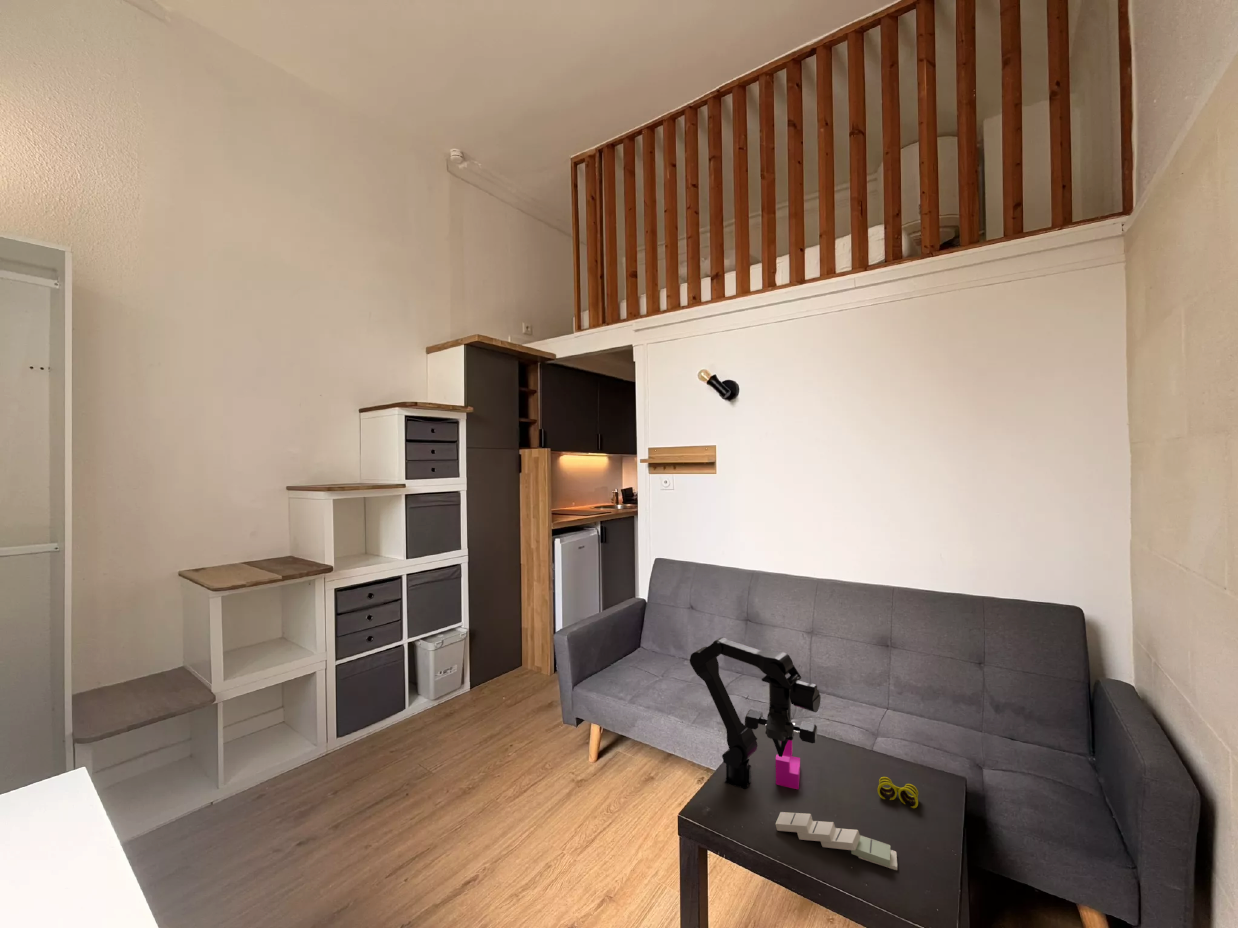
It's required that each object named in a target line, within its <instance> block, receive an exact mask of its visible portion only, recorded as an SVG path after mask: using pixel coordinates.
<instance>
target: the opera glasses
mask: <svg viewBox="0 0 1238 928" xmlns="http://www.w3.org/2000/svg"><path fill="white" fill-rule="evenodd" d="M884 786H890V787H884ZM876 791H877V794H878V796H879V797H880V798H881V799H883V800H886V798H885V796H887V797H889V801H893V800H895V799H896V798H897V796H898V798H899V800H900V802H901V803H902V804H904V805H906V803H907V802H910V804H911V806H909V807H910V808H912V809H917V807H918V805H919V790H918V789H917V787H916V786H915V785H913V784H911V783H905V785H904V786H903V787H899V786H896V785H895V784H894V783H893V782H892V779H890V778H889V777H887V776H882V777H880V778H879V780H878V786H877V790H876ZM910 794H911V795H910Z"/></svg>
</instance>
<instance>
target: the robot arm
mask: <svg viewBox="0 0 1238 928" xmlns="http://www.w3.org/2000/svg"><path fill="white" fill-rule="evenodd" d="M721 655H722V656H724V657H728V658H731V659H734V660H737V661H739V662H742V663H745V664H748V665H751V666H753V667H756V668H757V669H759V670H760V671H761V672H762V673H763V674H764V675H765V676H763V677H762V678H761V682H764V683H767V684H768V686H769V688H768V689H769V690H768V692H769V693H768V694H769V697H768V700H769V701H768V703H769V704H768V705H769V706H768V714H767V716H766V717H765V716H764V714H763V711H761V710H760V711H759V710H755V709H749V710H748V711H747V713H746V715H745V717H744V723H743V722H742V721H741V719H740V716H739V715H738V712H737V711H736V708H735V706H734V703H733V702H732V700H731V698H730V695H729V693H728V691H727V689H726V686H725V684H724V682H723V680H722V679H721V676H720V669H719V668H720V666H719V661H718V657H719V656H721ZM689 663H690V664H689V665H690V666H691V667H692V669H693V671H694V673H695V675H696V676H697V677H699V678H701V680H703V682H704V683H705V685H706V688H707V690H708V692H709V694H710V696H711V698H712V701H713V703H714V705H715V708H716V711H717V713H718V714H719V717H720V719H721V721H722V723H723V725H724V727H725V729H726V743H727V746H728V749H727V750H726V751H725V752H724V753H722V755H721V757H722V761H723V763H724V764H725V778H724V783H725V784H728V785H731V786H734V787H738V788H740V789H744V790H745V789H747V788H748V785H750V783H751V782H752V765H751V764H750V757H752V755H754V754H755V753H756V751H757V750H758V746H759V745H758V741H757V740H758V737H757V736H756V735H755V733H754V730H757V729H758V728H759V725H762V726H765V729H766V730H765V734H766V737H767V738H769V739H771V740H772V743H773V744H774V747H775V749H776V752H777V755H779V756H780V757H782V755H783V752H784V749H785V746H786V744H787V742H788V741H789V740H791V741H792V742H793V740H794V737H795V735H796V734H799V735H798V736H799V738H800V740H801V741H802V742H804V743H805V742H806V743H810V744H815V743H816V741H817V738H818V737H817V736H818V726H817V725H816V723H813V722H809V721H805V720H801V723H800V725H799V724H796V723H795V722H792V705H793V706H794V707H798V708H800V709H804V710H807V711H810V712H813V713H818V711H819V709H820V707H821V706H820V705H821V694H820V690H819V689H818V685H817V684H815V683H808V682H805V681H801V679H802V676H801V674H800V673H799V671H798V670H797V668H796V667H795V665H794V662H793V660H792V658H791V657H790V655H789V654H788V653H787V652H785V651H784V652H783V651H777V650H760V649H758V648H755V647H751V646H747V645H746V644H743V643H739V642H737V641H736V642H735V641H732V640H730V639H728V638H726V637H719V638H718V639H716V640H714V641H713V642H712V643H711V644H710V645H708V646H703V647H701V648H699V649H698V650H696V651H694V652H692V653H691V654H690V657H689ZM788 674H789V675H790V676H788V677H786V676H787V675H788Z"/></svg>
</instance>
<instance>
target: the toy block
mask: <svg viewBox="0 0 1238 928" xmlns="http://www.w3.org/2000/svg"><path fill="white" fill-rule="evenodd" d="M775 755H776V756H775V785H778V786H781V787H785V788H790V789H794V790H795V789H796V790H799V788H800V777H801V757H797V756H793V740H792V741H791V740H789V741H788V742H787V744H786V746H785V749H784V752H783V755H782V757H780V756H779V755H778V753H777V754H775Z"/></svg>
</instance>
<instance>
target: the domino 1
mask: <svg viewBox="0 0 1238 928" xmlns="http://www.w3.org/2000/svg"><path fill="white" fill-rule="evenodd" d="M813 821H814V820H813V817H812V813H805V812H803V813H802V812H800V813H799V812H784V811H780V812H779V815H778V817H777V820H776V822H775V827H776V828H775V829H776V831H779V832H789V833H790V832H791V833H797V832H802V833H809V830H810V827H811V824H812V822H813Z"/></svg>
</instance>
